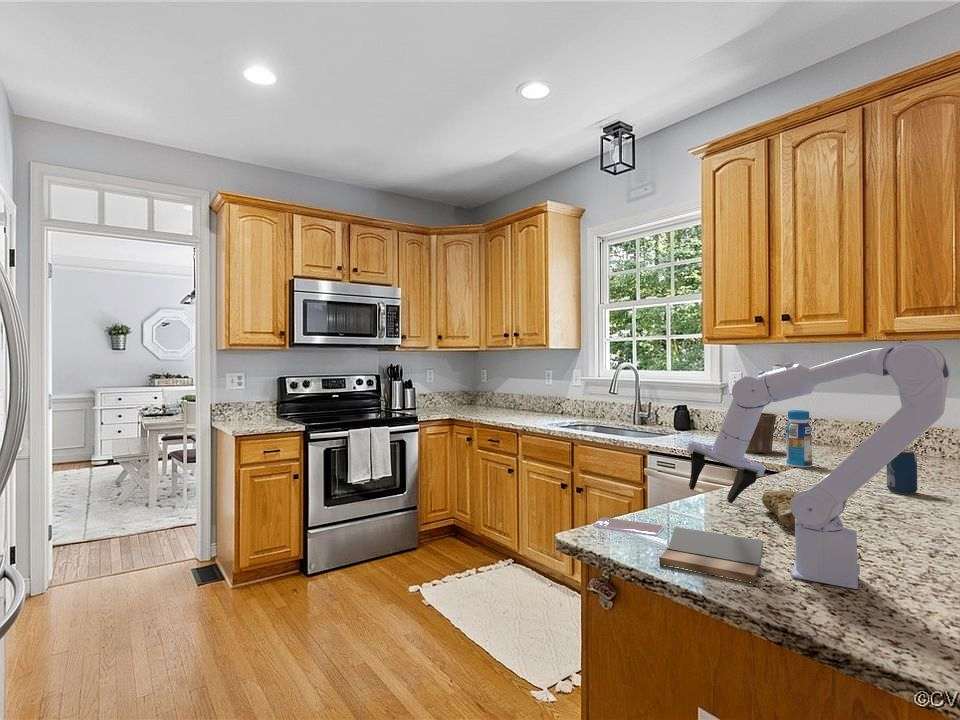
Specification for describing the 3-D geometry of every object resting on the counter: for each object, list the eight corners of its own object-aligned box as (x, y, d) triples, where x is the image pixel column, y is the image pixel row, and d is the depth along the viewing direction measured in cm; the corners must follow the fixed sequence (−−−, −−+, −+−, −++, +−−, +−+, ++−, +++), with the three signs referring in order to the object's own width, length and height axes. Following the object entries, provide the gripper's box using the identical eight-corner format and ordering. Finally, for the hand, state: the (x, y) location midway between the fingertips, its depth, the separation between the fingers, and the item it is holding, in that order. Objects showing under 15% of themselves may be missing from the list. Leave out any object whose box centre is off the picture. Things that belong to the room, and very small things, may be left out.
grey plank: (763, 546, 102) (762, 540, 101) (759, 570, 97) (759, 564, 97) (676, 532, 111) (675, 526, 110) (669, 553, 106) (668, 548, 106)
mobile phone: (657, 533, 118) (591, 523, 125) (657, 538, 118) (591, 527, 125) (665, 524, 124) (601, 515, 132) (665, 528, 124) (601, 519, 132)
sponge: (833, 542, 117) (823, 502, 134) (826, 508, 116) (816, 472, 134) (766, 544, 123) (764, 505, 140) (759, 512, 122) (757, 477, 140)
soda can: (921, 492, 154) (920, 450, 154) (912, 496, 150) (911, 453, 150) (892, 488, 159) (891, 447, 160) (882, 491, 156) (882, 450, 156)
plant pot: (782, 451, 228) (782, 413, 228) (771, 456, 216) (770, 416, 217) (742, 447, 239) (741, 411, 240) (729, 452, 228) (728, 413, 228)
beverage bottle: (782, 463, 200) (781, 409, 201) (806, 463, 199) (805, 409, 199) (792, 467, 192) (791, 411, 192) (817, 468, 191) (816, 411, 191)
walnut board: (758, 573, 96) (758, 563, 96) (754, 584, 92) (754, 574, 92) (667, 556, 105) (667, 547, 105) (659, 565, 101) (659, 556, 101)
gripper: (768, 439, 108) (743, 498, 111) (695, 416, 111) (672, 473, 114) (777, 452, 101) (750, 514, 105) (699, 427, 104) (675, 487, 108)
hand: (710, 494), depth 109 cm, fingers open, 7 cm apart
